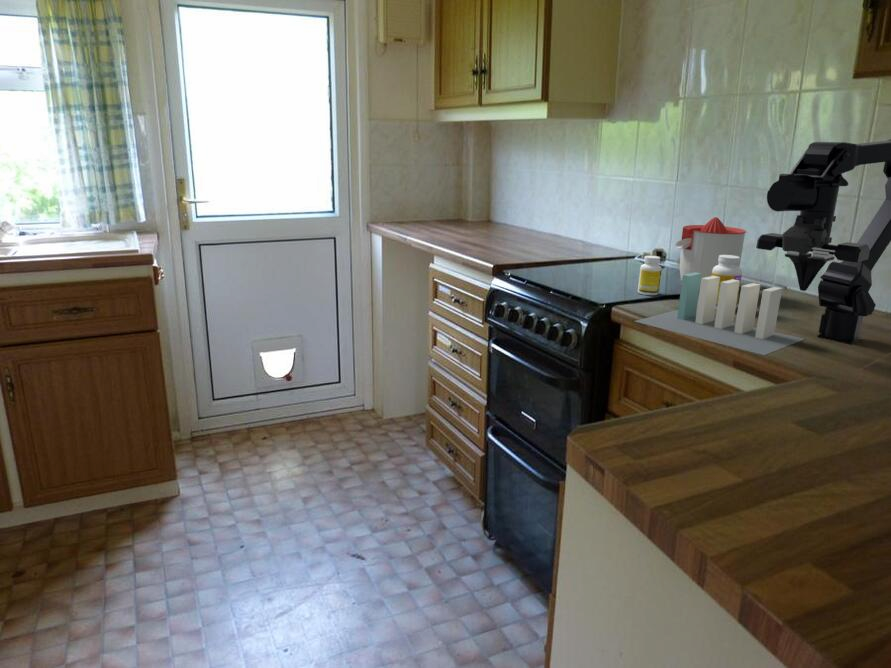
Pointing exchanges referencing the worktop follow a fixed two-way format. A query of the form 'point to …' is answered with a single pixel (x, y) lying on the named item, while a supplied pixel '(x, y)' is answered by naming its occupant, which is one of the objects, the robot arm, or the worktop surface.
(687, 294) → the teal domino
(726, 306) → the domino
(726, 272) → the supplement bottle
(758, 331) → the domino
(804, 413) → the worktop surface
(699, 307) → the domino
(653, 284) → the supplement bottle
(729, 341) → the slate mat
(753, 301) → the domino
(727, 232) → the citrus juicer
